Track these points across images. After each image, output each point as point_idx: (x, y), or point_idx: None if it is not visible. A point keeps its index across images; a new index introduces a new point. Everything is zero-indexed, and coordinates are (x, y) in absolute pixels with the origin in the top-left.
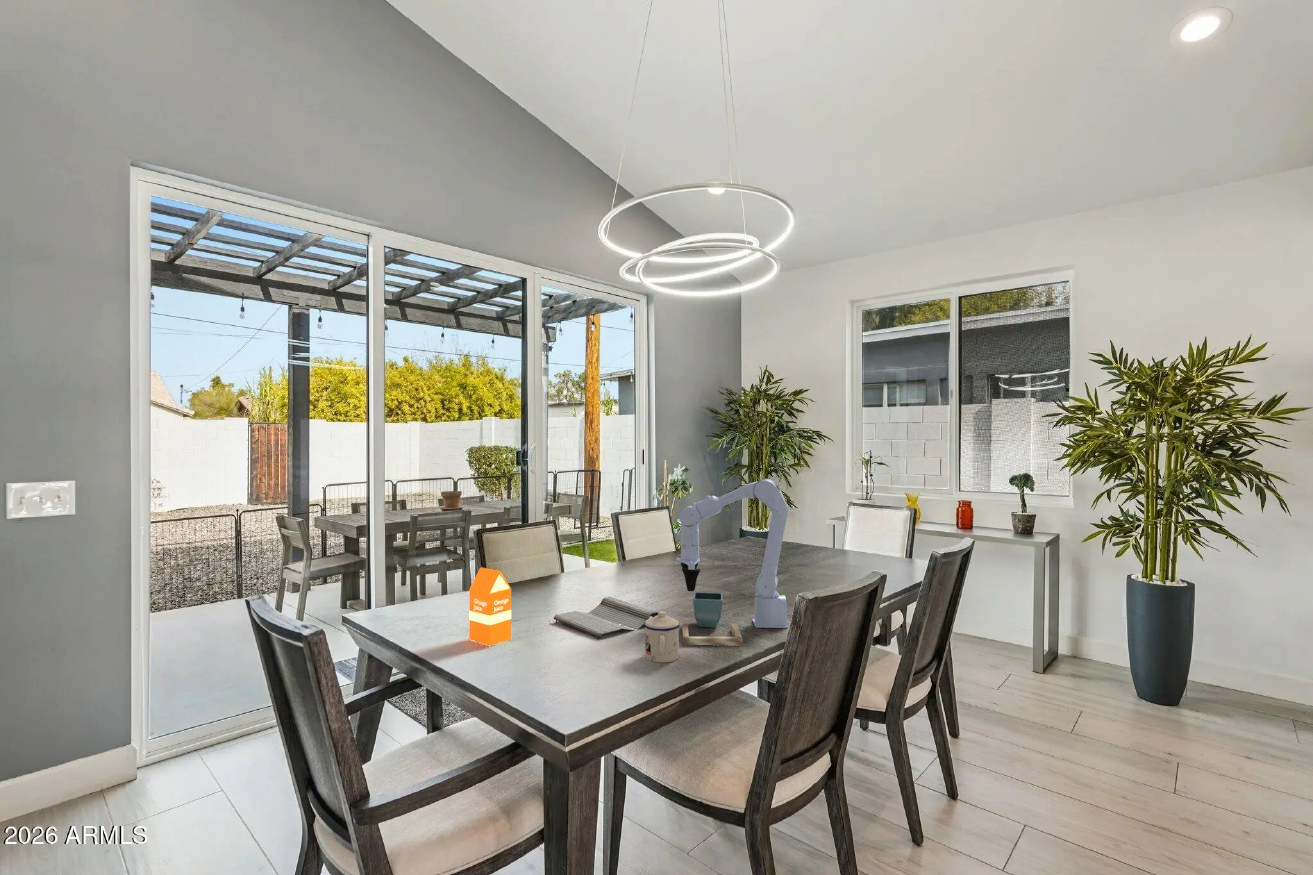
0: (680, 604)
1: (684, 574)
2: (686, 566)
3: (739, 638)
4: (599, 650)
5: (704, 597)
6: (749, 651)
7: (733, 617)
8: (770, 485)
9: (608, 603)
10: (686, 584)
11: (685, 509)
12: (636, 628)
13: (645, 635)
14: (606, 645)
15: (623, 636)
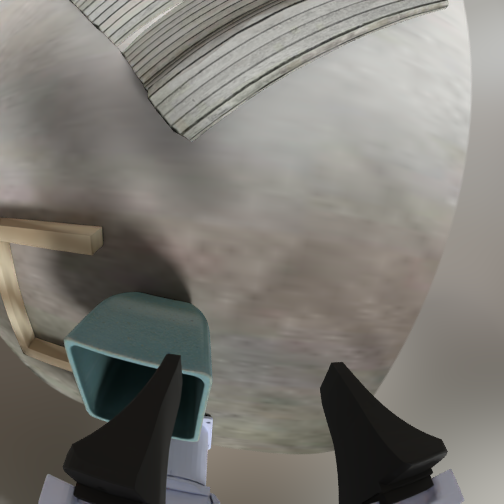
0: (431, 269)
1: (90, 434)
2: (372, 469)
3: (21, 348)
4: (3, 14)
5: (200, 388)
6: (12, 342)
7: (247, 392)
8: None
9: None
10: (150, 381)
11: None
12: (130, 49)
13: None
14: (21, 13)
15: (66, 27)
